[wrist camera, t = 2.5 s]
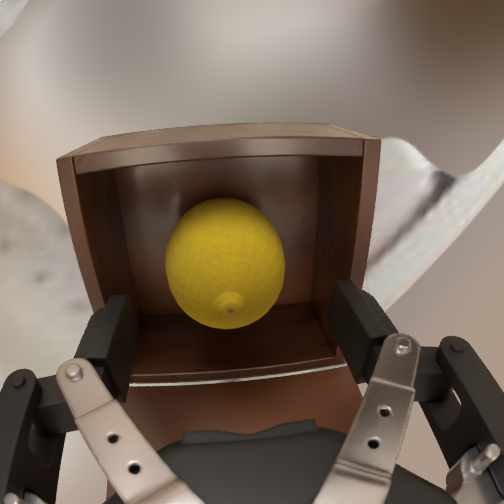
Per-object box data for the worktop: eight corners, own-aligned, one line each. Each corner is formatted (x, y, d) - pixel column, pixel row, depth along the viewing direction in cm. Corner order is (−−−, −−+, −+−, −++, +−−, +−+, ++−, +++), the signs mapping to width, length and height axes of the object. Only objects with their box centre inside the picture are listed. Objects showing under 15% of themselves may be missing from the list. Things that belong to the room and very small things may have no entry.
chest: (101, 137, 16) (55, 159, 11) (329, 123, 18) (381, 139, 12) (135, 317, 22) (121, 384, 16) (316, 302, 23) (345, 363, 18)
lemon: (281, 194, 18) (328, 262, 11) (251, 276, 21) (274, 370, 14) (186, 169, 17) (170, 225, 10) (164, 257, 19) (146, 350, 12)
